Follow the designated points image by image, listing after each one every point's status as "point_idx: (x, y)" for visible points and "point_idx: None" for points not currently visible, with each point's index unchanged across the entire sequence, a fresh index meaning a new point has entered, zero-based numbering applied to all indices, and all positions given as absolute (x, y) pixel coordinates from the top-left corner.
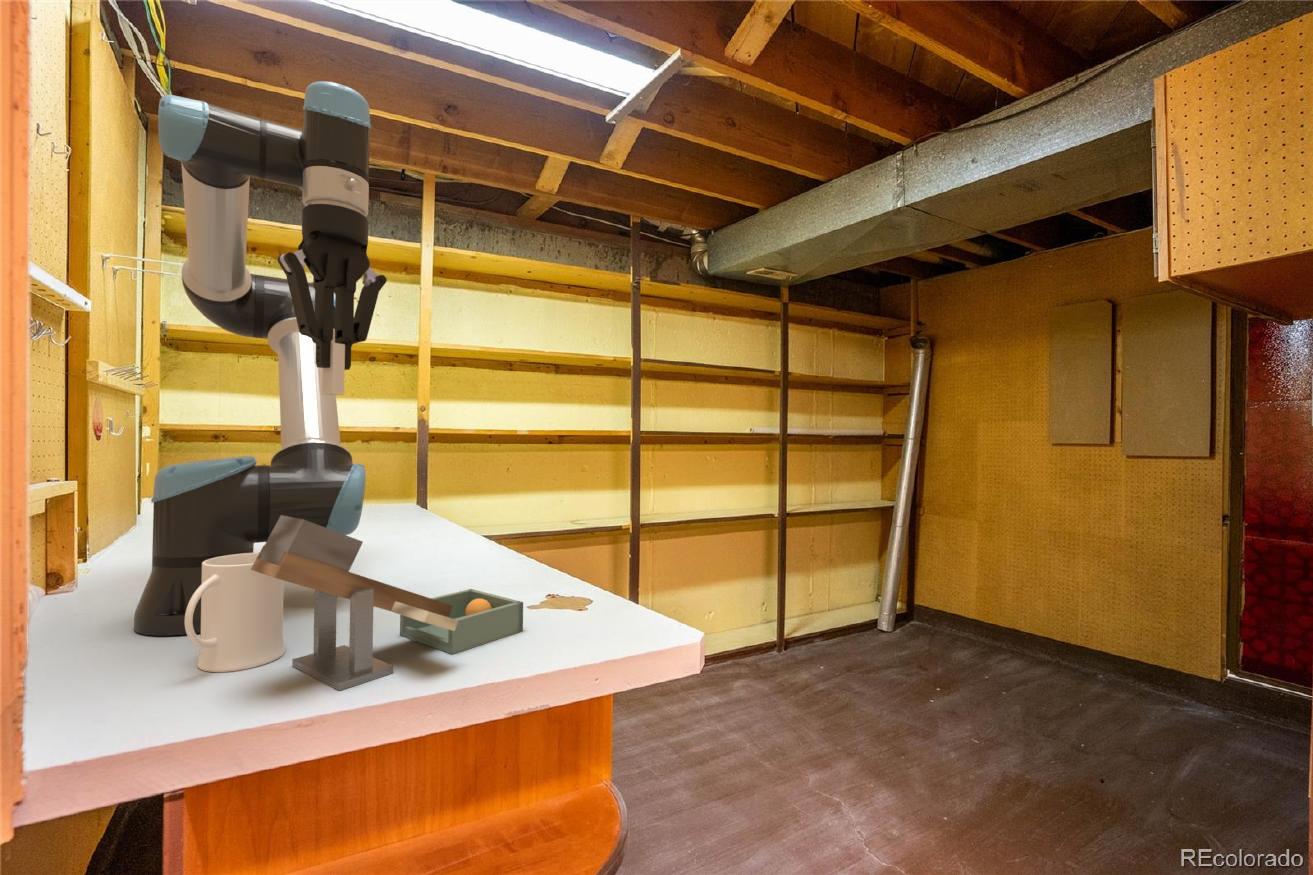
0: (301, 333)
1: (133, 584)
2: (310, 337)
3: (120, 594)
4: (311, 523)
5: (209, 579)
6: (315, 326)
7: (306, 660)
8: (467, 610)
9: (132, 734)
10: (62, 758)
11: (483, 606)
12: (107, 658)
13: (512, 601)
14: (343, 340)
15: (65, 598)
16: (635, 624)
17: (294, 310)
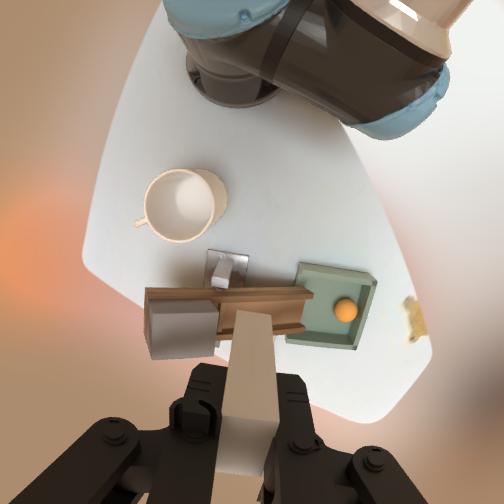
0: (104, 426)
1: None
2: (143, 435)
3: None
4: (159, 359)
5: (143, 221)
6: (130, 496)
7: (212, 261)
8: (336, 309)
9: (112, 267)
10: (89, 265)
11: (343, 321)
12: (150, 109)
13: (354, 341)
14: (262, 484)
15: None
16: (389, 388)
17: (27, 486)
